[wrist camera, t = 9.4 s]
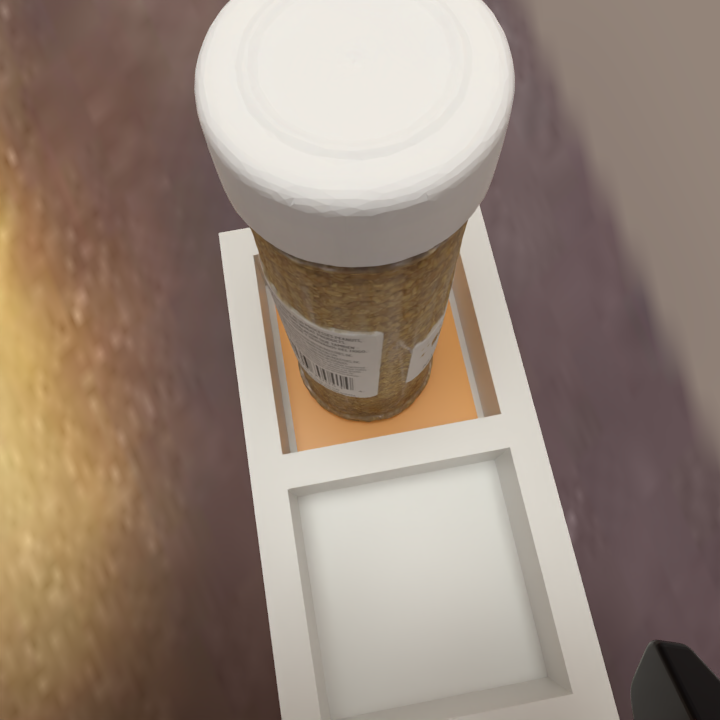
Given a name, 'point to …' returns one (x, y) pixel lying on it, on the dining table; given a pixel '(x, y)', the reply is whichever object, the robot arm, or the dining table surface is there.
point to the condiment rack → (413, 526)
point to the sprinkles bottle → (357, 172)
